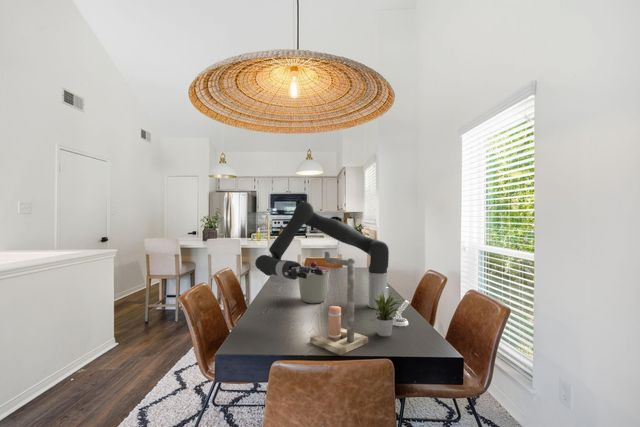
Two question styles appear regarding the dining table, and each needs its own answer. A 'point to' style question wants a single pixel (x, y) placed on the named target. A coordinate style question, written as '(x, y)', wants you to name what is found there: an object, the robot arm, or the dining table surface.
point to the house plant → (384, 314)
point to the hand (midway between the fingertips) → (314, 274)
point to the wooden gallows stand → (350, 337)
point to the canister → (314, 286)
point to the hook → (399, 316)
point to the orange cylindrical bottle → (334, 323)
